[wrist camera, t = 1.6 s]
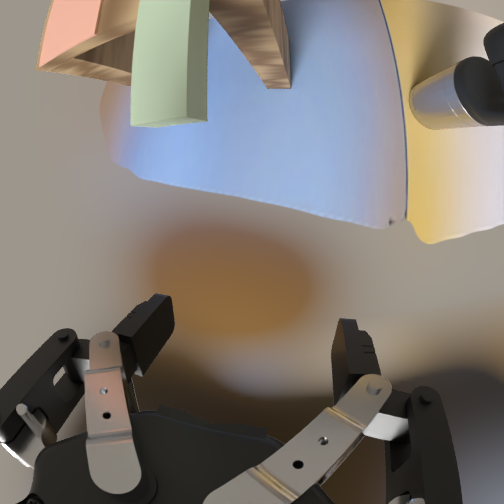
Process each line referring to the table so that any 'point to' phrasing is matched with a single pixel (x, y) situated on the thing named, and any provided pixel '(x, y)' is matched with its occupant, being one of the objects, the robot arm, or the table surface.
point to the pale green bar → (170, 63)
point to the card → (69, 26)
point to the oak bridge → (220, 6)
